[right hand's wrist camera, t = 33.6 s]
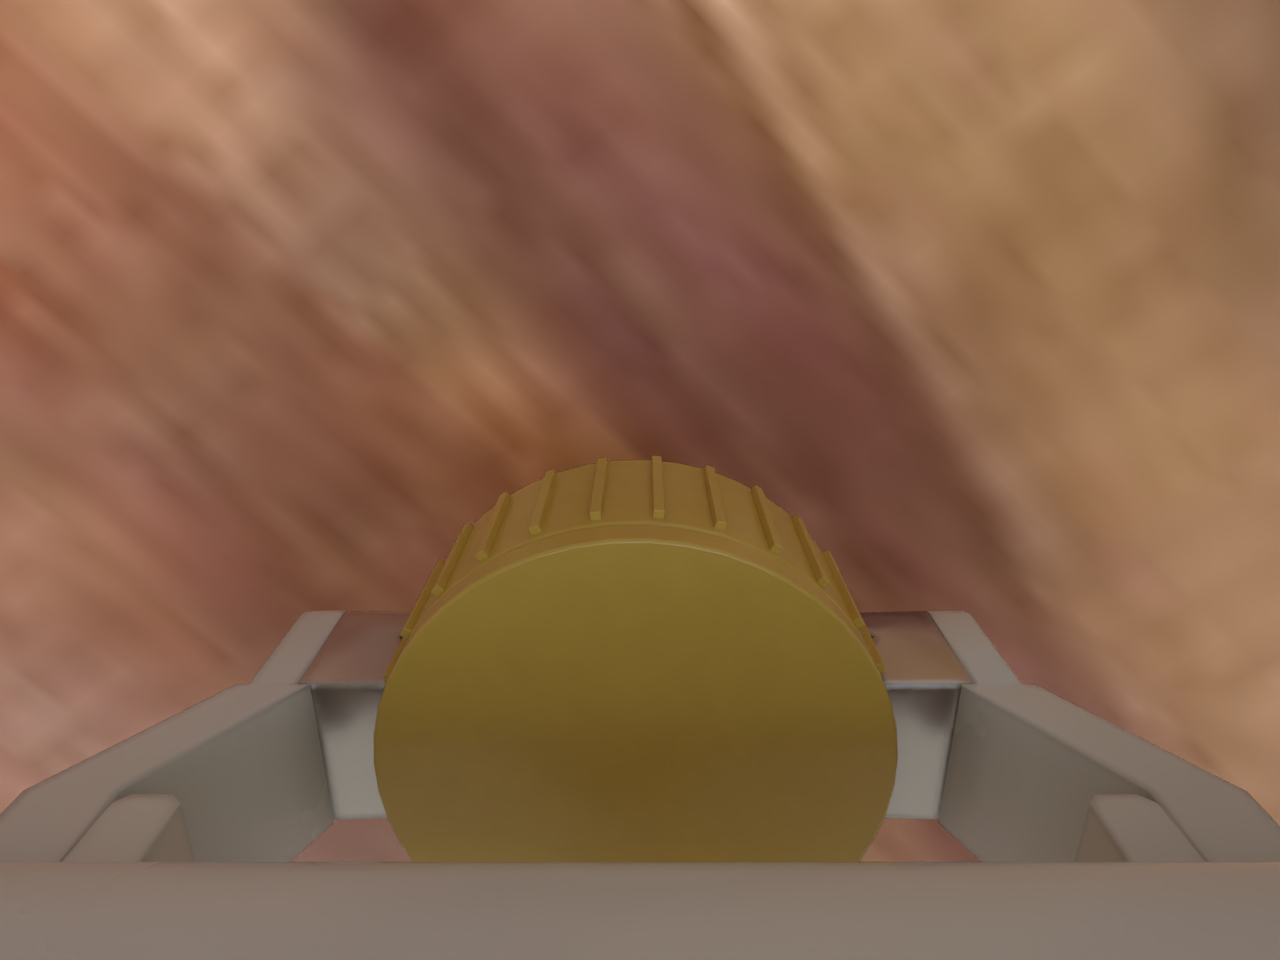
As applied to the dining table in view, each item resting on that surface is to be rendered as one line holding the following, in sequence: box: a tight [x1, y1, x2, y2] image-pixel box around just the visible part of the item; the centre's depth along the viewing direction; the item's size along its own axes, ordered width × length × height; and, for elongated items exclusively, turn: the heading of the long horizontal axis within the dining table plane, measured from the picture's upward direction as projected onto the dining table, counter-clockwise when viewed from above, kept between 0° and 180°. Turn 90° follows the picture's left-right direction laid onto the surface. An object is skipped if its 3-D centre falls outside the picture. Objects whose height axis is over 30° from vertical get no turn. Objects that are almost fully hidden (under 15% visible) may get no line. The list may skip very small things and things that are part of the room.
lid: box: [374, 456, 898, 862], centre depth 9 cm, size 5×5×2 cm
